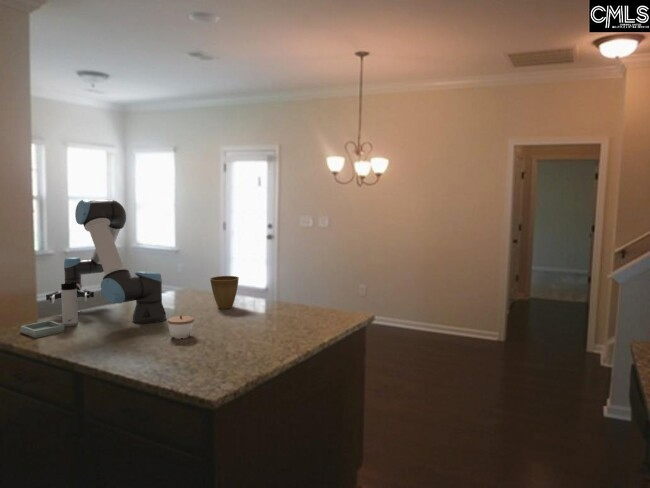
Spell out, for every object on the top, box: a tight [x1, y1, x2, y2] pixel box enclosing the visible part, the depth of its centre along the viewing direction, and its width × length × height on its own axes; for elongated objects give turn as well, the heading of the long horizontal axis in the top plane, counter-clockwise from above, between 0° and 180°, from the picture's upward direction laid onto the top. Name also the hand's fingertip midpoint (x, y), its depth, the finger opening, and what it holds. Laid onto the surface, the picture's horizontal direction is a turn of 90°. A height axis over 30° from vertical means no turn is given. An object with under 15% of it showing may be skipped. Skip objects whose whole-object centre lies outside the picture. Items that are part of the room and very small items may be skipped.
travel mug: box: [60, 282, 79, 328], centre depth 221 cm, size 6×7×20 cm
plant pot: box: [209, 275, 239, 310], centre depth 260 cm, size 15×15×16 cm
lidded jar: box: [167, 314, 195, 340], centre depth 206 cm, size 11×11×9 cm
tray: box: [20, 319, 66, 339], centre depth 210 cm, size 13×12×3 cm
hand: (69, 299), depth 226 cm, fingers open, 13 cm apart
